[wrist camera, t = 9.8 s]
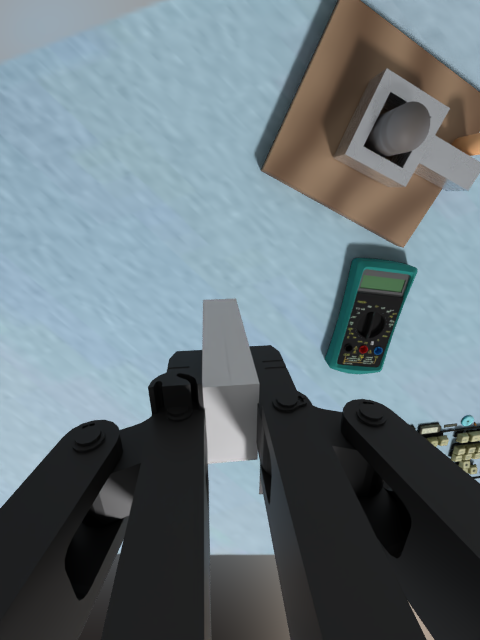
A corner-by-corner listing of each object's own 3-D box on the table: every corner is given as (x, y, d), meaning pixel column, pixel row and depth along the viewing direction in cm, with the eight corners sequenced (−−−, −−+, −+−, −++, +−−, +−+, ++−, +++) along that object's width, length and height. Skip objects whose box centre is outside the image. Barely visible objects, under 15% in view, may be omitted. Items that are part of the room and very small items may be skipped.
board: (260, 170, 31) (271, 165, 25) (338, -1, 27) (374, -57, 21) (396, 245, 35) (433, 256, 30) (484, 109, 31) (549, 88, 25)
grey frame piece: (332, 157, 30) (345, 154, 27) (369, 80, 28) (386, 68, 25) (433, 211, 33) (454, 213, 30) (474, 145, 30) (500, 140, 28)
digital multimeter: (321, 363, 42) (329, 374, 39) (351, 254, 36) (362, 259, 33) (371, 366, 42) (382, 378, 40) (407, 261, 37) (423, 267, 34)
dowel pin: (446, 152, 31) (473, 147, 27) (457, 133, 30) (487, 126, 27) (459, 160, 31) (487, 157, 28) (471, 143, 30) (501, 136, 27)
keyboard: (269, 499, 52) (272, 513, 49) (266, 432, 46) (268, 445, 44) (520, 468, 54) (534, 481, 51) (546, 401, 48) (563, 411, 46)
